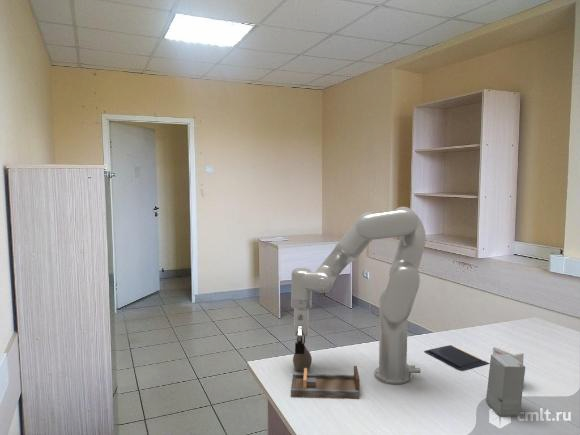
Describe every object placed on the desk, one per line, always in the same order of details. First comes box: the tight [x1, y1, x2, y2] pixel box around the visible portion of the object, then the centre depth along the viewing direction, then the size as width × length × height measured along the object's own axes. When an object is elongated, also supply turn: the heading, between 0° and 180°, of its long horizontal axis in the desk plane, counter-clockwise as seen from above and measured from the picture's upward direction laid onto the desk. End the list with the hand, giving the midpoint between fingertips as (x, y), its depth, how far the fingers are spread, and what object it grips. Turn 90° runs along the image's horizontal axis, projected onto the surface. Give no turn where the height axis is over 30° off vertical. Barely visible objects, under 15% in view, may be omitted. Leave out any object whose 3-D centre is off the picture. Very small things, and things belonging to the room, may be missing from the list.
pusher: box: [303, 368, 316, 389], centre depth 145 cm, size 4×9×4 cm, turn 176°
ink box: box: [492, 344, 524, 365], centre depth 147 cm, size 9×5×12 cm, turn 26°
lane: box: [290, 365, 361, 400], centre depth 144 cm, size 22×12×6 cm, turn 86°
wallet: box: [423, 344, 490, 372], centre depth 168 cm, size 20×2×15 cm
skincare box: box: [485, 353, 526, 417], centre depth 130 cm, size 8×7×16 cm
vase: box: [292, 345, 313, 373], centre depth 159 cm, size 7×7×9 cm
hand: (300, 348), depth 158 cm, fingers open, 9 cm apart
